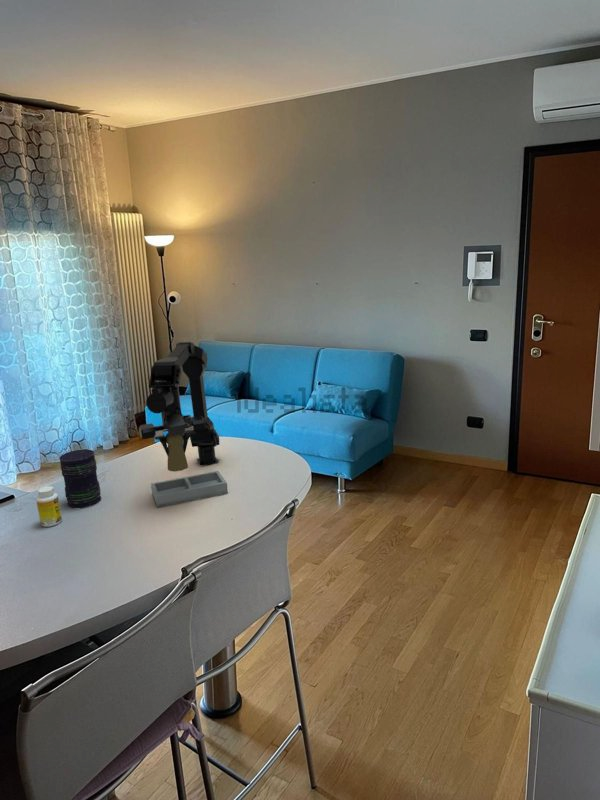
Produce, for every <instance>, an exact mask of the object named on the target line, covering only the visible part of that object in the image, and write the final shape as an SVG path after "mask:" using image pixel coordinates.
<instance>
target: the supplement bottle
mask: <svg viewBox="0 0 600 800" xmlns="http://www.w3.org/2000/svg"><path fill="white" fill-rule="evenodd" d="M37 493H38V494H37V497H36V499H35V501H36V506H37V511H38V517H39V522H40V525H41V526H42V527H46V528H47V527H48V528H49V527H54V526H57V525H59V524H60V523H61V522H62V520H63V518H62V513H61V505H60V501H59V499H60V498H59V495H58V493H57V492H55V489H54V486H51V485H50V486H48V485H47V486H42V487H41V488H39V489H37Z"/></svg>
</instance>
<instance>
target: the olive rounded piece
mask: <svg viewBox="0 0 600 800" xmlns="http://www.w3.org/2000/svg"><path fill="white" fill-rule="evenodd" d="M165 438H166V443H167V447H168V451H169V455H168V456H167V470H168V471H170V472H180V471H184V470H186V469H188V468H189V465H188V461H187V457H186V456H187V455H186V451H185V452H184V449H183V444H182V441H183V434H176V435H173V436H170V435H169V434H168V432H167V433H166V435H165Z"/></svg>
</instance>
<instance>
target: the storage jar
mask: <svg viewBox="0 0 600 800" xmlns="http://www.w3.org/2000/svg"><path fill="white" fill-rule="evenodd" d="M59 462H60V469H61V475H62V477H63V480H64V481H63V482H64V485H65V486H64V492H65V499H66V501H67V507H68V506H69V507H68V508H70V507H71V508H70V509H74V508H80V509H86V508H89V506H90V507H93V506H95V505H97V504H99V503H100V502H101V501H102V496H101V487H100V482H99V480H98V475H97V469H98V468H97V461H96V456H95V452H94V450H92V449H86V448H85V449H77V450H72V451H71V450H70V451H67V452H66V453H63V454H61V456H59ZM85 507H86V508H85Z"/></svg>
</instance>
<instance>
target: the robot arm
mask: <svg viewBox="0 0 600 800" xmlns="http://www.w3.org/2000/svg"><path fill="white" fill-rule="evenodd" d="M175 345H176V346H175V347H174V348H173V350H172V351H171V352H170V353H169V354H168V355H167V357H164V358H161V359H158V360H155V361H154V363H153V365H152V366H151V369H150V370H151V371H150V378H149V384H148V388H149V389H151V394H149V395H148V396H147V399H146V402H145V405H146V407H147V409H148V410H149V412H151V413H154V414H161V415H160V416H161V424H162V425H154V424H153V423H144V424H140V426H139V427H138V430H139V435H140V438H141V439H143V440H146V439H147V440H148V439H153V438H154V440H156V441H157V440H158V441H159V442H160V444H161V445H162V448H163V450H164V452H165V454H166V455H167V457H168V455H169V451H168V444H167V443H166V438H165V436H166V435H165V433H164V432H167V433H168V434H169V435H170V436H173V435H176V434H183V441H182V444H183V449H184V452H185V453H186V450H187V447H188V442H189V440H190V443H191V444H190V445H191V447H192V448H194V447H197V454H198V458H196V462H197V463H198V464H199V466H205V465H211V464H217V463H219V459H218V458H217V457H216V448H215V447H218V446H219V445H220V435H219V434H218V432H217V430H216V429H215V426H214V425H215V424H214V422H213V421H212V420H211V418H210V417H209V416H208V410H207V409H208V407H207V400H206V390H205V383H204V373H205V371H206V370H207V364H208V355H207V353H206V352H205V350H204V348H201V347H199V346H197V345H195V344H194V342H191V341H182V342H178V343H176V344H175ZM182 372H183V373H184V374H185V375H186V377H187V378H188V383H189V390H190V398H191V407H192V413H193V415H192V416H191V414H186V415H183V413H182V408H181V407H182V406H181V398H180V390H179V388H180V387H179V385H180V382H181V377H182Z"/></svg>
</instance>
